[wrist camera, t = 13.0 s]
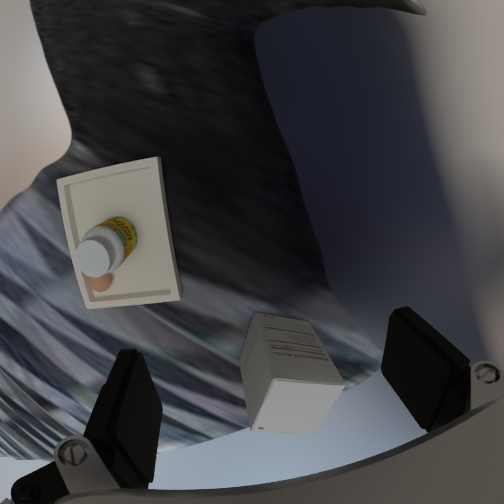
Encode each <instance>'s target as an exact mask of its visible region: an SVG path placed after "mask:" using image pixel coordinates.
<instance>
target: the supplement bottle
mask: <svg viewBox="0 0 504 504" xmlns="http://www.w3.org/2000/svg"><path fill="white" fill-rule="evenodd" d="M137 241H138V234H137V230H136V227H135V225H134V224H133V223H132V222H131V221H130V220H129V219H127V218H125V217H122V216H114V217H111V218H108V219H107V220H105V221H103V222H102V223H100V224H98V225H96V226H95V227H93V228H91V229H90V230H88V231H87V232H86V233H85V235H84V236H83V238H82V240H81V243H80V245H79V246H78V248H77V250H76V262H77V265H78V267H79V269H80V270H81V271H82V272H83V273H84V274H85V275H87V276H89V277H94V278H96V277H101V276H103V275H104V274H109V273H112V272H114V271H115V270H117V269H118V268H119V267H120V266H121V264H122V263H123V262H124V261H125V259H126V258H127V257H128V256H129V255H130V254H131V253H132V251H133V250H134V249H135V247H136V245H137Z"/></svg>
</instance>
